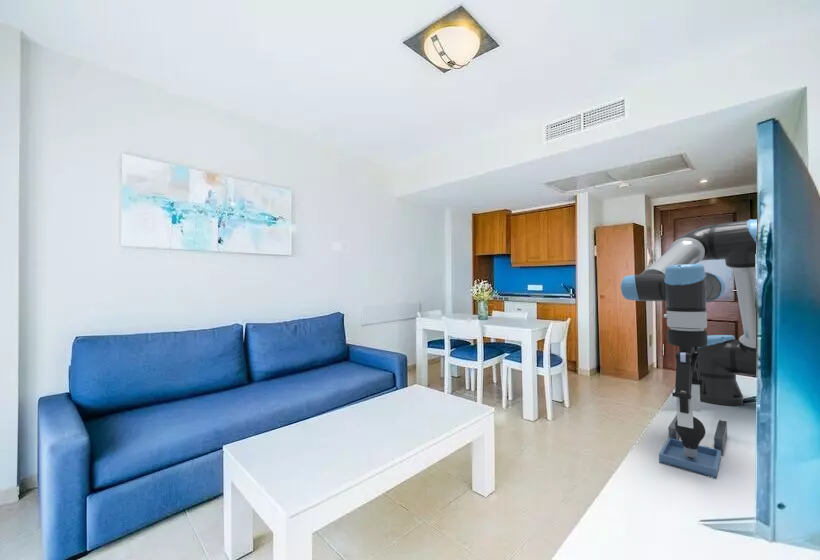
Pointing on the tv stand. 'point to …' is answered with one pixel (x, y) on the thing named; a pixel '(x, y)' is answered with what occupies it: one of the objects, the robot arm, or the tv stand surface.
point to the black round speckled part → (691, 437)
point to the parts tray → (702, 464)
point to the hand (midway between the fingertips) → (689, 418)
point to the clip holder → (718, 438)
